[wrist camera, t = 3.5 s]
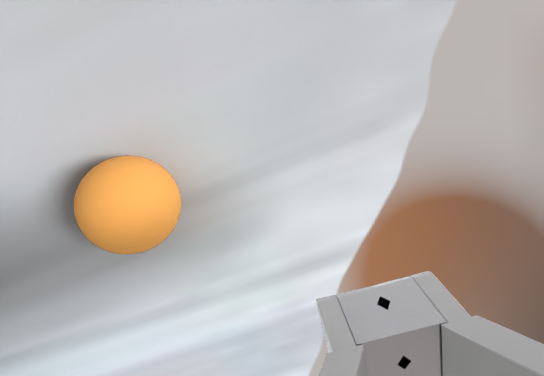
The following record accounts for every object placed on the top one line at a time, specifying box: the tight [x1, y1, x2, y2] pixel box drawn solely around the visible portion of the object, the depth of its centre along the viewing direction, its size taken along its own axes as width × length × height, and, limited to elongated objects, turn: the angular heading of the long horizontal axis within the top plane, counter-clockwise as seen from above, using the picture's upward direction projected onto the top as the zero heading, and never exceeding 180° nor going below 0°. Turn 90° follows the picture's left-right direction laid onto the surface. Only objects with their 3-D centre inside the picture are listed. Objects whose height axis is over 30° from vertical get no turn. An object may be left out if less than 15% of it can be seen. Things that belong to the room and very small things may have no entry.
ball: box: [74, 156, 181, 254], centre depth 19 cm, size 6×6×6 cm
